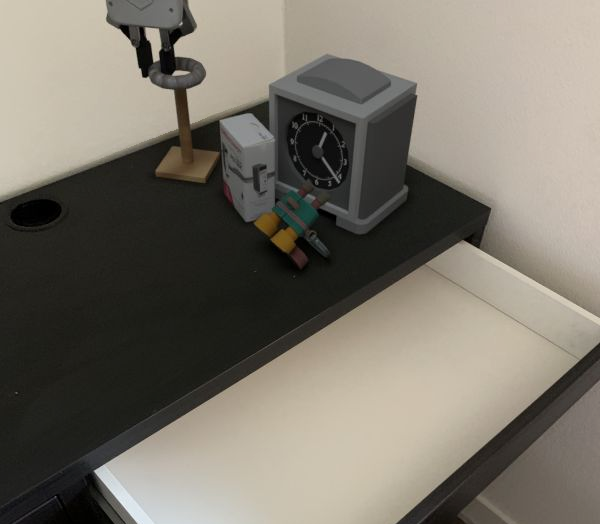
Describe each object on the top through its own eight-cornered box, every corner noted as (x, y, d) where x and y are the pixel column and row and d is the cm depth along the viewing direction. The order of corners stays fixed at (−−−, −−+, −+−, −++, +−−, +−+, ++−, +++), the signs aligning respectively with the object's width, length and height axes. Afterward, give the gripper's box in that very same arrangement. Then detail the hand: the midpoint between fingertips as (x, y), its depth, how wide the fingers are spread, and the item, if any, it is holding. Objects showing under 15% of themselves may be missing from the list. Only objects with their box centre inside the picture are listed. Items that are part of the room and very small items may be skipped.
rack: (155, 176, 102) (142, 92, 93) (173, 151, 108) (162, 68, 98) (205, 183, 102) (197, 98, 92) (220, 157, 107) (214, 75, 97)
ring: (141, 88, 92) (139, 75, 91) (160, 65, 98) (159, 52, 96) (195, 95, 91) (194, 81, 90) (212, 71, 97) (212, 58, 95)
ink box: (222, 194, 100) (217, 117, 91) (251, 186, 101) (249, 110, 92) (246, 224, 95) (242, 146, 86) (276, 215, 96) (276, 138, 87)
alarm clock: (261, 191, 100) (258, 66, 87) (312, 157, 107) (317, 36, 94) (362, 236, 93) (376, 108, 80) (410, 196, 100) (430, 72, 87)
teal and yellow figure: (277, 251, 94) (241, 211, 86) (323, 205, 93) (292, 160, 85) (314, 287, 89) (280, 248, 81) (363, 238, 88) (334, 194, 80)
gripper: (62, -77, 79) (95, 80, 93) (190, -66, 77) (204, 93, 91) (88, -93, 84) (115, 58, 98) (209, -82, 82) (220, 70, 96)
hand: (158, 74), depth 95 cm, fingers closed on ring, 2 cm apart
